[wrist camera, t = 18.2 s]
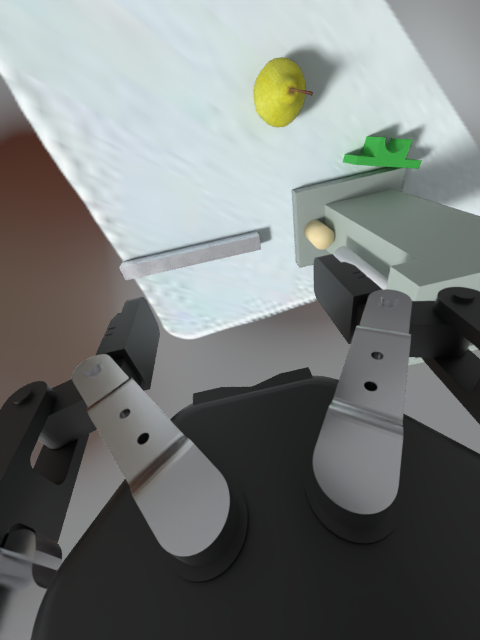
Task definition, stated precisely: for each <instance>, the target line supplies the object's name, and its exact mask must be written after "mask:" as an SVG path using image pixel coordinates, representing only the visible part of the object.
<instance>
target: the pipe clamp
mask: <svg viewBox="0 0 480 640" xmlns="http://www.w3.org/2000/svg"><path fill="white" fill-rule="evenodd" d="M385 141H386V137H366V141H365V144H364V148H363V151H362V155H350V154H345V156H344V160H343V162H346V163H350V164H355V165H369V166H385V167H400V168H416V169H419V167H420V164H421V162H422V161H420V160H413V159H406V156H407V154H408V151H409V148H410V146H411V143H412V140H411V139H391V141H390V143H389V144H388V145H387V147H386V146H385Z"/></svg>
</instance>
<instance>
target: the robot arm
mask: <svg viewBox="0 0 480 640" xmlns="http://www.w3.org/2000/svg"><path fill="white" fill-rule="evenodd" d="M314 292H315V296H316V298H317V300H318V301H319V303H320V304H321V306H322V307H323V308H324V310H325V311H326V313H327V314H328V316H329V317H330V318H331V320H332V321H333V323H334V324H335V325H336V327H337V328H338V330H339V331H340V332H341V334H342V335H343V337H344V338H345V340H346V341H347V342H348V344H351V345H350V348H349V351H348V354H347V357H346V360H345V364H344V367H343V370H342V373H341V376H340V379H339V380H337V379H333V378H329V377H324V376H312V374H311V372H310V370H309V368H308V367H307V368H303V369H298V370H294V371H290V372H286V373H281V374H279V375H276V376H274V377H272V378H270V379H268V380H266V381H264V382H261V383H259V384H257V385H255V386H252V387H220V388H216V389H212V390H207V391H203V392H198V393H194V394H193V403H192V404H190V405H189V406H187V407H185V408H184V409H182V410H181V411H179V412H178V413H177V414H176V415H175V416H173V417H172V418H171V419H169V418H168V417H167V416H166V415H165V414H164V413H163V412H162V411H161V410H160V408H159V407H158V406H157V405H156V404H155V403H154V402H153V401H152V400H151V398H150V397H149V396H148V395H147V394H146V393H145V392H144V390H148V389H150V386H151V381H152V375H153V370H154V364H155V357H156V353H157V347H158V341H159V335H160V333H159V327H158V324H157V322H156V319H155V317H154V315H153V313H152V311H151V309H150V307H149V305H148V303H147V301H146V299H145V298H144V297H140V298H136V299H131V300H127V301H126V302H125V305H124V307H123V310H122V312H121V313H118V314H117V315H116V316H115V317H114V318H113V319H112V320H111V321H110V324H109V326H108V328H107V331H106V333H105V337H103V339H102V342H101V344H100V347H99V349H98V351H97V353H96V355H95V356H93V357H91V358H88V359H87V360H85V361H84V362H82V363H81V364H80V365H79V366H78V367H77V368H76V369H75V371H74V372H73V374H72V379H71V380H69V381H67V382H65V383H63V384H60V385H58V386H56V387H54V388H50V387H49V386H48V385H47V384H46V383H45V382H43V381H37V382H33V383H30V384H28V385H26V386H24V387H22V388H20V389H19V390H17V391H16V392H15V393H14V394H12V395H11V396H10V397H9V398H8V399H7V401H6V402H5V403H4V405H3V406H2V408H1V410H0V640H480V454H479V453H477V452H475V451H473V450H471V449H469V448H467V447H466V446H464V445H462V444H460V443H458V442H456V441H454V440H452V439H450V438H448V437H447V436H445V435H443V434H441V433H439V432H437V431H435V430H433V429H432V428H430V427H428V426H426V425H424V424H422V423H420V422H418V421H417V420H415V419H413V418H411V417H409V416H407V415H405V414H403V412H404V402H405V392H406V382H407V372H408V363H409V357H419V358H422V359H423V361H424V362H425V363H426V364H427V365H428V366H429V367H430V369H431V370H432V371H433V372H434V373H435V374H436V375H437V377H438V378H439V379H440V380H441V381H442V382H443V383H444V384H445V385H446V387H447V388H448V389H449V390H450V391H451V392H452V393H453V395H454V396H455V397H456V398H457V399H458V400H459V401H460V403H462V405H463V406H464V407H465V408H466V409H467V411H468V412H469V413H470V414H471V415H472V416H473V417H474V419H476V421H477V422H478V423H479V424H480V359H479V358H478V357H477V356H476V355H475V354H473V353H472V352H471V351H470V350H469V349H468V347H469V345H470V343H472V344H473V345H474V346H475V347H476V348H478V349H479V350H480V291H477V290H474V289H470V288H465V287H448V288H444V289H442V290H440V291H439V292H438V295H437V298H436V300H435V301H412V300H411V298H410V297H409V296H408V295H407V294H405V293H403V292H400V291H396V290H389V289H384V290H383V289H382V288H381V287H379V286H378V285H377V284H376V283H375V282H374V281H372V280H371V279H370V278H369V277H367V276H366V275H365V274H364V273H363V272H361V270H360V269H359V268H357V267H356V266H355V265H353V264H350V263H347V262H340V261H339V260H338V259H337V258H336V257H335V256H334V255H333V254H328V255H324V256H320V257H316V258H315V259H314ZM96 429H97V430H98V432H99V434H100V435H101V437H102V439H103V440H104V442H105V444H106V446H107V447H108V449H109V451H110V453H111V454H112V456H113V458H114V460H115V461H116V463H117V465H118V466H119V468H120V470H121V472H122V473H123V475H124V477H125V480H124V481H123V482H122V484H121V485H120V486H119V488H118V489H117V490H116V492H115V493H114V494H113V496H112V497H111V499H110V500H109V501H108V503H107V504H106V505H105V506H104V508H103V509H102V510H101V512H100V513H99V515H98V516H97V517H96V518H95V520H94V521H93V523H92V524H91V525H90V527H89V528H88V529H87V531H86V532H85V533H84V534H83V536H82V538H81V539H80V540H79V541H78V543H77V544H76V546H75V547H74V548H73V549H72V551H71V552H70V553H69V555H68V556H67V558H66V559H65V560H64V561H63V563H62V550H61V547H60V546H59V544H58V540H59V537H60V533H61V530H62V526H63V522H64V519H65V516H66V512H67V509H68V506H69V502H70V499H71V495H72V492H73V488H74V485H75V482H76V478H77V475H78V471H79V468H80V464H81V461H82V457H83V454H84V450H85V447H86V444H87V440H88V437H89V433H91V432H93V431H95V430H96ZM37 440H39V441H40V442H42V443H43V444H44V445H43V447H42V450H41V452H40V454H39V456H38V459H37V461H36V464H35V466H34V468H33V469H32V467H31V463H30V456H31V453H32V451H33V449H34V447H35V444H36V442H37ZM61 563H62V564H61Z"/></svg>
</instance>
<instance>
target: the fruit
mask: <svg viewBox="0 0 480 640" xmlns="http://www.w3.org/2000/svg"><path fill="white" fill-rule="evenodd" d="M305 94H309V95H312V94H313V92H311V91H306V85H305V80H304V76H303V73H302V71H301V69H300V68H299V67H298V65H297V64H296V63H294V62H293V61H292V60H290V59H288V58H275V59H273V60H271V61H269V62H268V63H267V64H266V65H265V67H264V68H263V69H262V71H261V72H260V74H259V75H258V77H257V78H256V82H255V85H254V103H255V108H256V112H257V113H258V115H259V116H260V117H261V118H262V119H263V120H264V121H265V122H266V123H267V124H269V125H271V126H273V127H284V126H286V125H288V124H290V123H291V122H292V121H293V120H294V119H295V118H296V116H297V115H298V113H299V112H300V110H301V108H302V106H303V104H304V99H305Z"/></svg>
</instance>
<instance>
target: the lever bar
mask: <svg viewBox="0 0 480 640" xmlns="http://www.w3.org/2000/svg"><path fill="white" fill-rule="evenodd" d="M260 249H261V245H260V238H259V235H258V233H257V231H256V232H251V233H247V234H243V235H238V236H234V237H230V238H225V239H221V240H217V241H212V242H208V243H203V244H199V245H195V246H190V247H186V248H182V249H177V250H173V251H169V252H164V253H160V254H156V255H151V256H147V257H143V258H138V259H134V260H129V261H125V262H122V264H121V265H120V270H121V273H122V275H123V276H124V278H125V280H129V279H134V278H138V277H143V276H147V275H151V274H156V273H160V272H165V271H169V270H173V269H178V268H182V267H186V266H191V265H195V264H199V263H204V262H208V261H212V260H217V259H221V258H225V257H230V256H234V255H239V254H243V253H247V252H252V251H256V250H260Z"/></svg>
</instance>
